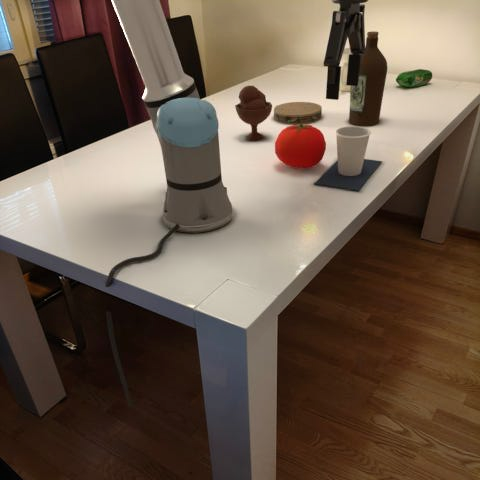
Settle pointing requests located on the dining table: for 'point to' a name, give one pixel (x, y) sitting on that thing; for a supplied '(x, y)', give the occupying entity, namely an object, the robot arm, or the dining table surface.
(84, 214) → the dining table surface
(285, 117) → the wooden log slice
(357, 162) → the dixie cup
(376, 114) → the olive oil
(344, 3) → the robot arm
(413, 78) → the snack package
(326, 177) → the placemat
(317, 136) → the tomato
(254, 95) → the ice cream bowl
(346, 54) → the pitcher
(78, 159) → the dining table surface
